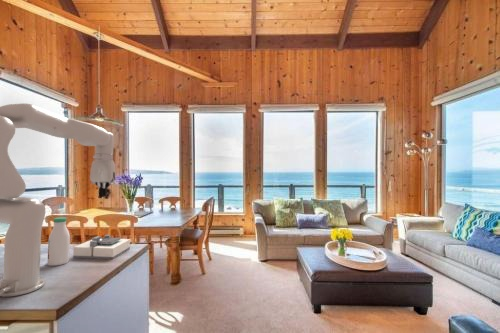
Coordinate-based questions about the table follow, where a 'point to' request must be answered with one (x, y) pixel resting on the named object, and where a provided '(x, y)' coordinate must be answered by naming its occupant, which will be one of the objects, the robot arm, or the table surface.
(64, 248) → the milk bottle
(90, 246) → the white boxy piece
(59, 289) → the table surface
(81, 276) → the table surface
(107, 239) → the lock flap
